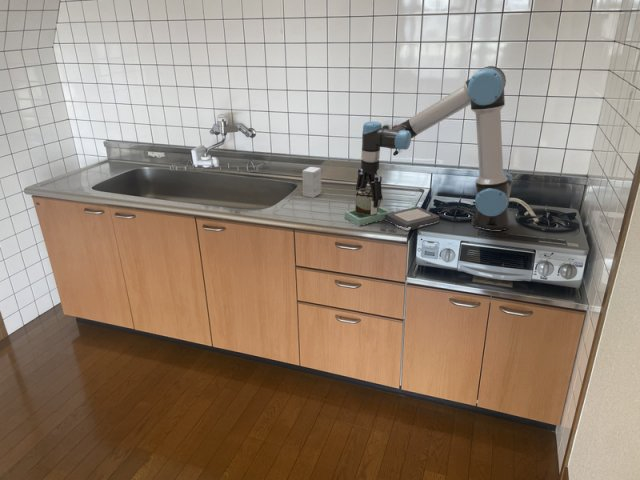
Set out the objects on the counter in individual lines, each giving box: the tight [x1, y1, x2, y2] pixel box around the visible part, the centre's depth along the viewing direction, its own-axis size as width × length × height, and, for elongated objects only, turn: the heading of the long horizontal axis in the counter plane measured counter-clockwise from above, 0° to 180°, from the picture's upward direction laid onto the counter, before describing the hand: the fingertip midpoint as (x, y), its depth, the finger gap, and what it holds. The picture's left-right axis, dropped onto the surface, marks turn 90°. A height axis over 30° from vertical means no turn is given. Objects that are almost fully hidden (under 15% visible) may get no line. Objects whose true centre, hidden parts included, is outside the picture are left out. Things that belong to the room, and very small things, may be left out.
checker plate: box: [394, 209, 431, 222], centre depth 212 cm, size 9×13×1 cm
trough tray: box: [344, 206, 392, 226], centre depth 216 cm, size 11×17×3 cm, turn 121°
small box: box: [301, 166, 322, 198], centre depth 242 cm, size 8×6×13 cm
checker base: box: [384, 206, 440, 231], centre depth 212 cm, size 14×18×4 cm
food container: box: [354, 187, 384, 216], centre depth 214 cm, size 12×6×10 cm, turn 82°
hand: (367, 210), depth 215 cm, fingers open, 8 cm apart
